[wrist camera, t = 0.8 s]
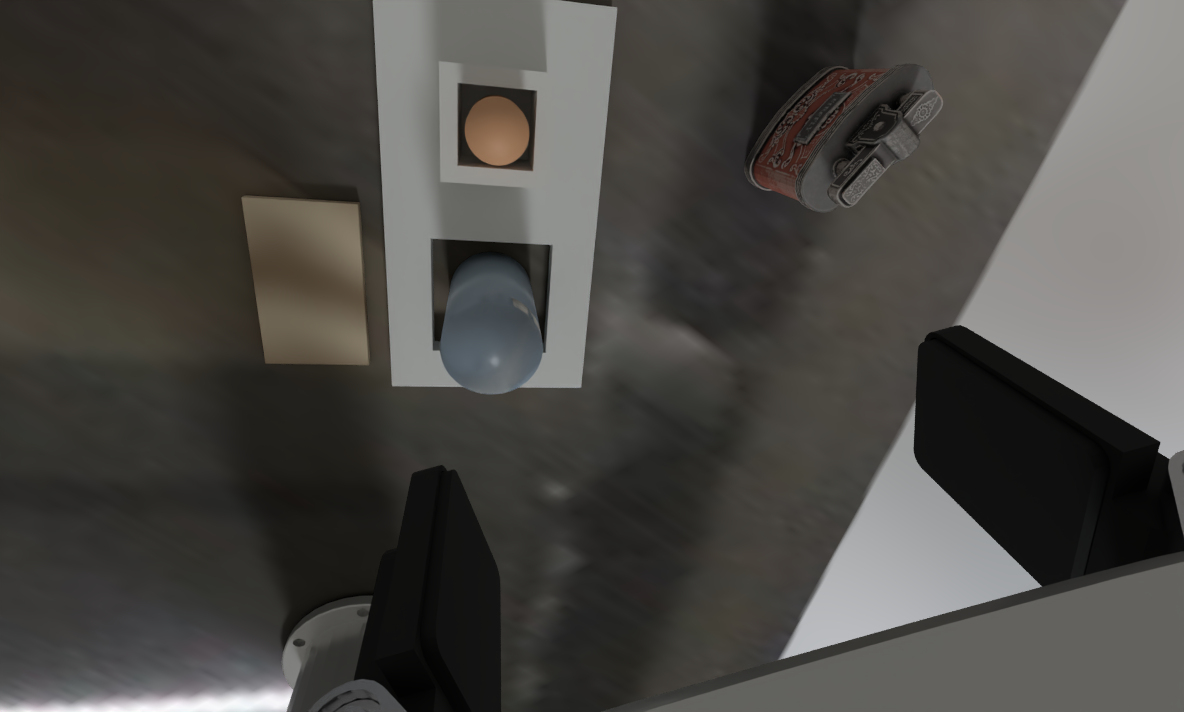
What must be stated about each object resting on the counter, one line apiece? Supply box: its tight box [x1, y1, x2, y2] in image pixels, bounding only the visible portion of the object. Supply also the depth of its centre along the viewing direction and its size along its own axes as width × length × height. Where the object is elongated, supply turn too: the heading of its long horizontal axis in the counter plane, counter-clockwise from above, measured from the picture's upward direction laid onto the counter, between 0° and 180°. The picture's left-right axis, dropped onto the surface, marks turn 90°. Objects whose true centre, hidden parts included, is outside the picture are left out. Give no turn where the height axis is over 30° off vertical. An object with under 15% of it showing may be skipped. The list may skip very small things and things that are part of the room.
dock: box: [373, 0, 617, 388], centre depth 33 cm, size 22×12×6 cm, turn 175°
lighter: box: [745, 64, 943, 213], centre depth 32 cm, size 8×3×10 cm, turn 140°
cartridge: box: [440, 252, 543, 394], centre depth 33 cm, size 5×5×9 cm
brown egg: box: [465, 95, 529, 166], centre depth 28 cm, size 3×3×4 cm
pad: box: [241, 195, 370, 365], centre depth 35 cm, size 10×6×1 cm, turn 175°
